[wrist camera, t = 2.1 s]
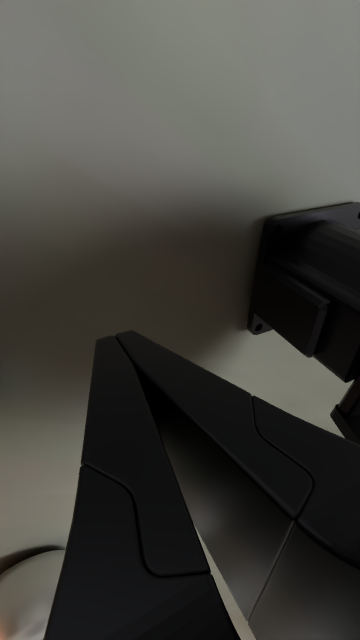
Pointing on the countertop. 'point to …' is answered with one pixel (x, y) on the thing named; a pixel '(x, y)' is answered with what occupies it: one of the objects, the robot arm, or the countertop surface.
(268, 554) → the robot arm
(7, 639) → the plastic bottle
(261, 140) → the countertop surface
